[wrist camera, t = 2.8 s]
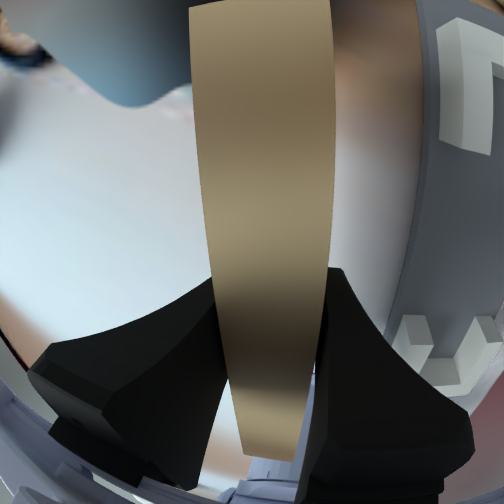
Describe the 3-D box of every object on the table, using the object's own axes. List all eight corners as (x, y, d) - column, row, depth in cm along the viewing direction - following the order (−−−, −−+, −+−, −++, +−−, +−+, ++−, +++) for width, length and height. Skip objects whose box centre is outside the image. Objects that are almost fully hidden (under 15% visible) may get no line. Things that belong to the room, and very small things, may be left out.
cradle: (450, 378, 18) (457, 411, 15) (366, 380, 20) (366, 417, 17) (529, 37, 5) (563, 33, 2) (413, -9, 7) (434, -35, 4)
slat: (307, 384, 15) (293, 462, 11) (266, 379, 15) (243, 454, 11) (327, 49, 7) (328, -7, 3) (254, 50, 8) (189, 7, 3)
